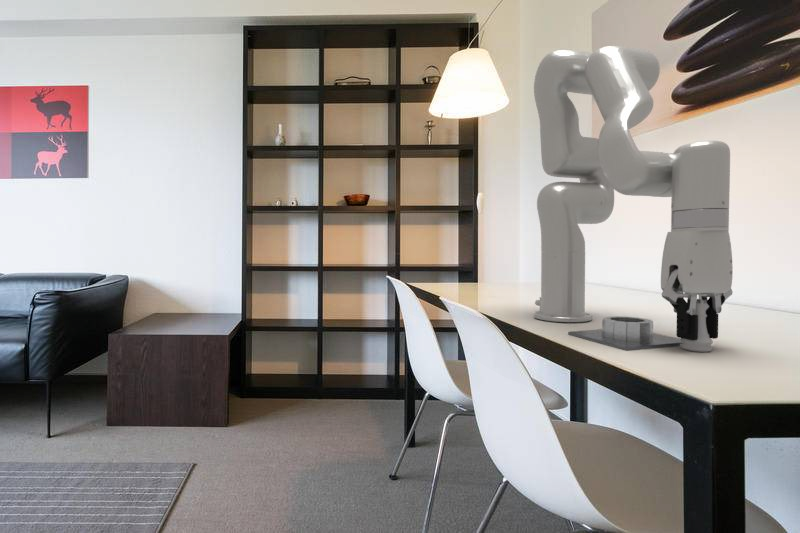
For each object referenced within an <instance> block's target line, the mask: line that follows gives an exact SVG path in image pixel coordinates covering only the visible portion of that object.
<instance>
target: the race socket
mask: <svg viewBox="0 0 800 533" xmlns="http://www.w3.org/2000/svg"><path fill="white" fill-rule="evenodd" d="M601 326H602V327H601V328H599V329H588V330H587V329H586V330H576V331H575V330H574V331H571V330H570V331H568V332H567V335H570V336H573V337H577V338H579V339H580V338H581V339H583V340H586V341H587V340H588V341H590V342H594V343H597V344H602V345H606V346H609V347H612V348H616V349H619V350H623V351H636V350H648V349H657V348H667V347H670V348H671V347H678V346H679V347H681V346H680V344H682V343H683V342H682V341H681V340H680V338H679V337H673V336H670V335H664V334H660V333H656V332H654V321H653V320H651V319H650V318H643V317H638V316H637V317H636V316H624V315H623V316H621V315H620V316H618V315H614V316H613V315H611V316H604V317H602V320H601Z"/></svg>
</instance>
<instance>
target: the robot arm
mask: <svg viewBox="0 0 800 533" xmlns="http://www.w3.org/2000/svg"><path fill="white" fill-rule="evenodd" d="M660 67H661V66H660V63H659V60H658V58H657V56H655V54H654V53H653V52H650V51H649V50H646V49H640V48H635V47H629V46H624V45H605V46H603V47H602V46H601V47H600V48H597V49H596V50H595V51H593V52H589V51H584V50H579V49H578V50H577V49H565V48H563V49H558V50H556V49H555V50H552V51H550V52H549V53H546V55H545V56H544V57H543V58H542V59H541V61H540V62H539V64H538V67H537V70H536V73H535V76H534V83H533V94H534V95H533V96H534V101H535V102H534V103H535V105H536V109H537V113H538V118H539V133H540V135H539V136H540V152H541V153H540V154H541V165H542V169H543V171H544V172H545V173H546V175H548V176H551V177H554V178H555V177H556V178H566V179H567V178H568V179H579V181H555V182H551V183H547V185H545V186H544V187H542V189H540V191H539V193H538V196H537V198H536V209H537V215H538V220H539V224H540V225H539V227H540V235H541V236H540V238H541V239H540V240H541V243H540V244H541V246H540V248H541V249H540V251H541V253H540V254H541V256H540V258H541V260H540V261H541V264H540V269H541V274H540V275H541V276H540V277H541V278H540V287H541V288H540V292H541V293H540V296H539V299H536V300H535V301H534V304H535V306H539V310H537V311H534V313H533V315H534V316H533V317H534V318H535V319H538V320H541V321H547V322H553V323H554V322H557V323H585V322H590V321H592V320H593V315H592V314H591V313H589V312H586V311H585V310H586V309H585V308H586V307H585V306H586V305H585V304H586V300H585V299H586V298H585V297H586V283H585V282H586V241H585V237H584V234H583V232H582V230H581V227H580V226H579V224H580V225H597V224H600V223H603V222H606V221H607V220H608V219H609V218H610V217H611V215H612V213H613V210H614V206H615V191H616V192H617V193H619V194H621V195H625V196H631V197H632V196H633V197H635V196H637V197H654V198H657V197H658V198H671V204H670V205H671V207H670V208H671V212H670V214H671V215H670V231H668V232H667V234H666V237H665V241H664V246H663V252H662V258H661V267H660V268H661V270H660V271H661V272H660V289H661V291H662V292H661V297H662V298H663V299H664V300H666V301H667V302H669V304H670V305H671V306H672V307H673V312H674V313H676V332H675V334H676V338H679V339H680V338H683V339H688V340H697V339H698V315H694V313H695V308H696V300H697V299H700V300H702V299H704V300H707V304H708V305H709V307H708V308H707V310H706V315H707V317H706V327H707V332H708V334H709V337H710V338H711V339H712V340H713V339H718V337H719V314H720V313H722V306H723V305H724V303H725V301H726V300H728V299H729V298H730V297H731V296H732V295H733V289H732V285H733V253H732V252H733V251H732V243H731V237H730V231H729V229H730V228H729V226H730V223H729V222H730V188H731V187H730V184H731V183H730V182H731V181H730V180H731V178H730V177H731V148H730V146H729V145H728V144H727V143H726V142H724V141H720V140H704V141H695V142H690V143H686V144H683V145H681V146H678V147H677V148H676V149H675V150H674V152H673V153H672V152H663V151H661V152H659V151H649V150H640V149H639V148H638V147H637V145H636V143H635V141H634V139H633V136H632V135H631V133H630V129H633V128H634V127H636V126H637V125H639V124H641V123H642V122H643V121H645V119H647V118H648V116H650V114H651V112H652V111H653V107H654V99H653V97H652V95H651V93H650V91H651V90H652V88H653V87H654V86H655V85H656V84H657V82H658V79H659V77H660V73H661V68H660ZM568 93H573V94H583V95H589V96H592V97H593V98H594V101H595V103H596V105H597V107H598V109H599V111H600V115H601V116H602V118H603V121H604V123H603V126H602V128H601V130H600V132H599V135H598V138H597V137H591V136H590V137H589V136H583V135H582V134H581V132H580V124H579V121H580V119H579V118H580V117H579V114H578V111H577V108H576V106H575V104H574V103H573V101H572V100H571V99H570V98H569V97H570V96H568ZM685 298H687V299H688V301H687V300H685Z"/></svg>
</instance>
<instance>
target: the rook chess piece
mask: <svg viewBox="0 0 800 533" xmlns="http://www.w3.org/2000/svg"><path fill="white" fill-rule="evenodd" d="M707 300H708V299H707ZM707 300H704V299H702V300H700V299H699V298H697V300H696V308H695V313H694V315H698V339H697V340H688V339H683V338H679V339H680V340H681V341H682V342H683V343H682V344H680V346H679V347H680V348H681V349H683V350H685V351H688V352H689V351H690V352H694V353H695V352H696V353H710V352H711V351H712V350H713V349H714V347H713V346H712V344H713V343H714V341H713V339H712V338H710V337H709V334H708V332H707V327H706V317H707V315H706V310H707V308H708V307H709V305H708V304H707ZM687 301H688V298H687V300H686V302H687Z"/></svg>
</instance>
